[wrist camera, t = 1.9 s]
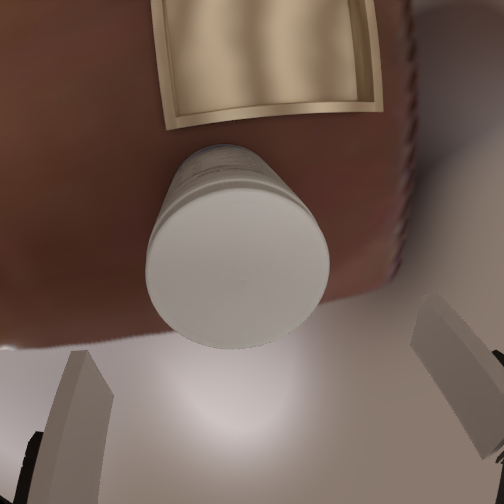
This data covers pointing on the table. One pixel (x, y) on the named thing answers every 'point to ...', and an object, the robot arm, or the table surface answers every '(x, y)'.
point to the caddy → (265, 58)
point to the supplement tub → (234, 252)
